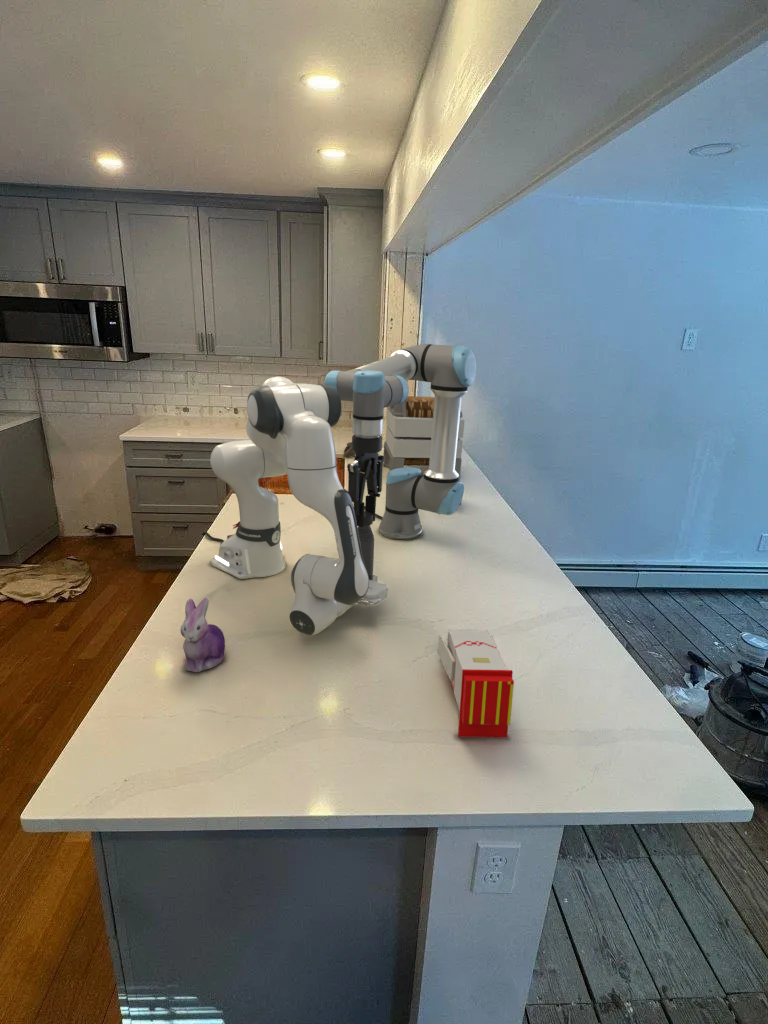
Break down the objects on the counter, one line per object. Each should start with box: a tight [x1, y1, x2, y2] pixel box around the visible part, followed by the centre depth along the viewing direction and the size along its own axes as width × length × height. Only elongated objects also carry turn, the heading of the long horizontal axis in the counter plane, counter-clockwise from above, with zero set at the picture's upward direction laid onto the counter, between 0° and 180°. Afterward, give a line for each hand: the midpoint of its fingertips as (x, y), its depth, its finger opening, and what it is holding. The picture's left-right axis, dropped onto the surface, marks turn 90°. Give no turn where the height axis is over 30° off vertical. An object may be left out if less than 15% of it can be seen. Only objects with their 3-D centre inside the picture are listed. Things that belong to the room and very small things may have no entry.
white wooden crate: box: [383, 395, 465, 482], centre depth 268 cm, size 34×33×41 cm
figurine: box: [180, 597, 226, 673], centre depth 122 cm, size 9×10×15 cm
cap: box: [364, 510, 374, 526], centre depth 148 cm, size 4×4×2 cm
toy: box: [437, 628, 515, 738], centre depth 117 cm, size 12×13×30 cm
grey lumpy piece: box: [343, 441, 356, 459], centre depth 304 cm, size 22×10×15 cm
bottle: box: [357, 525, 375, 580], centre depth 152 cm, size 6×6×23 cm
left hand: (364, 574), depth 154 cm, fingers closed on bottle, 5 cm apart
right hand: (364, 522), depth 148 cm, fingers open, 5 cm apart
